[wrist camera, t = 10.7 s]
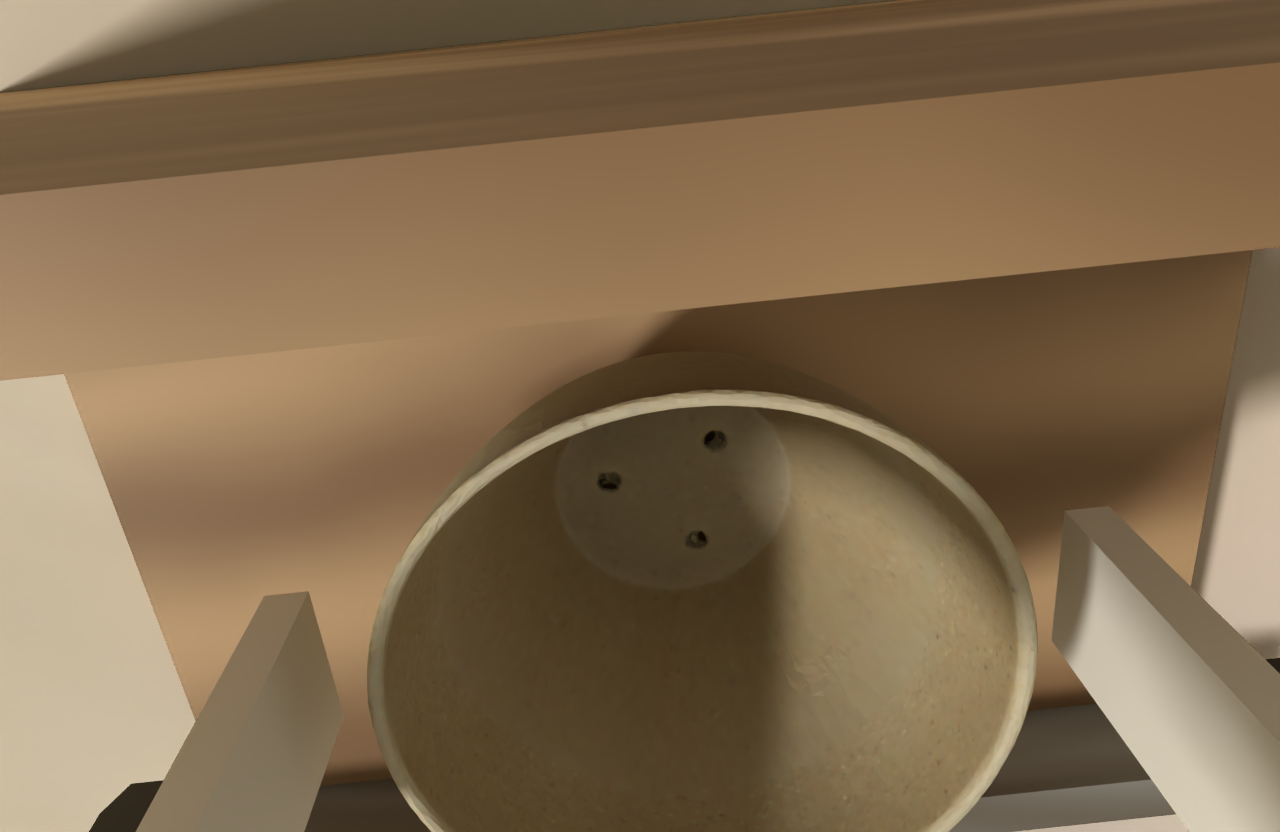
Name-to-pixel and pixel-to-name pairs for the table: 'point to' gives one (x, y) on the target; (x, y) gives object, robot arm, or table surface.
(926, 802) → the flower pot
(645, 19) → the table surface
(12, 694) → the table surface
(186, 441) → the brown piece
